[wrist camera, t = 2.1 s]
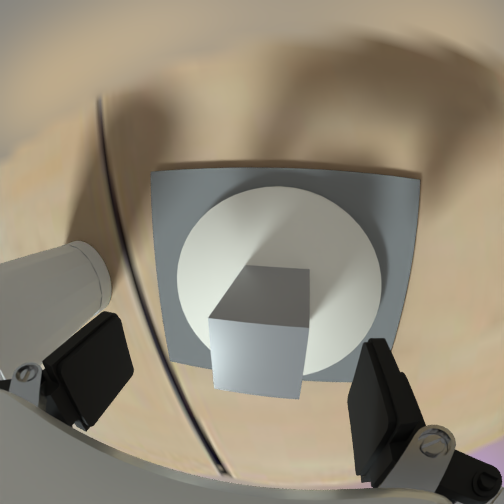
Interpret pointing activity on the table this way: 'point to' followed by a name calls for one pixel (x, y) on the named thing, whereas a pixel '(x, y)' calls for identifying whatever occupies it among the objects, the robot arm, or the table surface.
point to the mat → (314, 180)
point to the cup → (48, 301)
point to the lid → (277, 288)
